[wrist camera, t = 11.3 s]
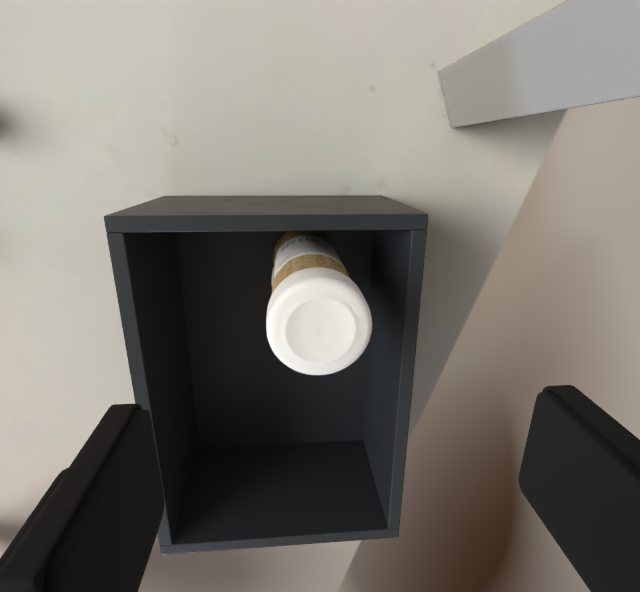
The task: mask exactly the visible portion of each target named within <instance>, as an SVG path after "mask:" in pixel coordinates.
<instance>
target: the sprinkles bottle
mask: <svg viewBox="0 0 640 592" xmlns="http://www.w3.org/2000/svg"><path fill="white" fill-rule="evenodd" d="M273 263H274V267H273V271H272V295H271V298H270V300H269V303H268V307H267V317H266V331H267V338H268V341H269V344H270V346H271V348H272V350H273V352H274V354H275V355H276V356H277V357H278V358H279V360H280V361H281V362H283V363H284V364H285V365H286V366H288V367H289V368H291V369H293V370H295V371H297V372H300V373H303V374H308V375H327V374H331V373H335V372H338V371H340V370H342V369H344V368H346V367H348V366H349V365H351V364H352V363H353V362H354V361H356V360H357V359H358V358H359V357H360V355H361V354H362V353H363V352H364V350H365V348H366V347H367V344H368V342H369V340H370V336H371V332H372V317H371V312H370V309H369V306H368V304H367V302H366V300H365V298H364V296H363V294H362V293H361V291H360V289H359V288H358V286H357V285H356V284H355V283H354V282H353V281H352V280H351V279H350V277H349V275H348V273H347V271H346V269H345V267H344V266H343V264H342V262H341V260H340V258H339V256H338V255H337V253H336V251H335V250H334V247H333V245H332V243H331V241H330V239H329V238H328V237H327V236H326V235H325V234H324V233H323V232H321V231H288V232H286V233H285V234H283V236H282V237H281V238H280V239H279V240H278V241H277V244H276V246H275V248H274V252H273Z"/></svg>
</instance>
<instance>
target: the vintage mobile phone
mask: <svg viewBox="0 0 640 592" xmlns="http://www.w3.org/2000/svg"><path fill="white" fill-rule="evenodd" d="M438 74H439V78H440V83H441V87H442V91H443V95H444V100H445V104H446V108H447V113H448V117H449V121H450V125H451V128H455V127H461V126H467V125H473V124H479V123H485V122H491V121H497V120H503V119H509V118H515V117H521V116H527V115H533V114H539V113H545V112H551V111H557V110H563V109H569V108H574V107H580V106H587V105H592V104H598V103H604V102H610V101H616V100H622V99H628V98H634V97H640V0H567V1H565V2H563V3H561V4H559V5H558V6H556V7H554V8H552V9H550V10H549V11H547V12H545V13H543V14H541V15H540V16H538V17H536V18H534V19H532V20H530V21H529V22H527V23H525V24H523V25H521V26H520V27H518V28H516V29H514V30H512V31H510V32H509V33H507V34H505V35H503V36H501V37H500V38H498V39H496V40H494V41H492V42H490V43H489V44H487V45H485V46H483V47H481V48H480V49H478V50H476V51H474V52H472V53H470V54H469V55H467V56H465V57H463V58H461V59H460V60H458V61H456V62H454V63H452V64H450V65H449V66H447V67H445V68H443V69H441V70H440V71H438Z"/></svg>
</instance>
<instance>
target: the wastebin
mask: <svg viewBox="0 0 640 592" xmlns="http://www.w3.org/2000/svg"><path fill="white" fill-rule="evenodd" d="M104 221H105V227H106V232H108V233H107V239H108V244H109V250H110V256H111V262H112V268H113V274H114V280H115V286H116V291H117V297H118V303H119V309H120V315H121V321H122V327H123V333H124V338H125V344H126V350H127V356H128V362H129V368H130V374H131V380H132V386H133V391H134V397H135V403H136V404H140V405H141V407H142V410H149V412H150V415H151V421H152V427H153V433H154V439H155V445H156V451H157V457H158V463H159V469H160V475H161V481H162V487H163V493H164V512H163V517H162V520H161V523H160V526H159V529H158V538H159V544H160V550H161V555H166V554H179V553H193V552H206V551H220V550H233V549H247V548H260V547H273V546H287V545H300V544H314V543H327V542H340V541H354V540H366V539H381V538H393V537H398V536H399V525H400V515H401V502H402V493H403V481H404V472H405V460H406V450H407V439H408V428H409V418H410V407H411V396H412V385H413V375H414V364H415V353H416V342H417V331H418V321H419V310H420V299H421V288H422V278H423V267H424V256H425V245H426V234H427V230H426V229H427V224H428V214H427V213H424V212H422V211H419V210H417V209H414V208H412V207H409V206H407V205H404V204H402V203H399V202H397V201H394V200H392V199H389V198H386V197H384V196H163V197H160V198H157V199H154V200H151V201H148V202H145V203H142V204H139V205H136V206H133V207H130V208H127V209H124V210H121V211H118V212H115V213H112V214H109V215H106V216H104ZM288 231H321V232H323V233H324V234H325V235H326V236H327V237H328V238H329V239H330V241H331V243H332V245H333V247H334V250H335V251H336V253H337V255H338V256H339V258H340V260H341V262H342V264H343V266H344V267H345V269H346V271H347V273H348V275H349V277H350V279H351V280H352V281H353V282H354V283H355V284H356V285H357V286H358V288H359V289H360V291H361V293H362V294H363V296H364V298H365V300H366V302H367V304H368V306H369V309H370V312H371V317H372V332H371V336H370V340H369V342H368V344H367V347H366V348H365V350H364V352H363V353H362V354H361V355H360V357H359V358H358V359H357V360H356V361H354V362H353V363H352V364H351V365H349V366H348V367H346V368H344V369H342V370H340V371H338V372H335V373H331V374H327V375H308V374H303V373H300V372H297V371H295V370H293V369H291V368H289V367H288V366H286V365H285V364H284V363H283V362H281V361H280V360H279V358H278V357H277V356H276V355H275V354H274V352H273V350H272V348H271V346H270V344H269V341H268V338H267V331H266V317H267V307H268V303H269V300H270V298H271V295H272V271H273V267H274V263H273V252H274V248H275V246H276V244H277V241H278V240H279V239H280V238H281V237H282V236H283V234H285V233H286V232H288Z"/></svg>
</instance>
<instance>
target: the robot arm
mask: <svg viewBox="0 0 640 592" xmlns="http://www.w3.org/2000/svg"><path fill="white" fill-rule="evenodd" d="M519 485H520V488H521V491H522V493H523V494H524V496H525V497H526V499H527V500H528V502H529V503H530V504H531V506H532V507H533V509H534V510H535V512H536V513H537V514H538V516H539V517H540V519H541V520H542V522H543V523H544V524H545V526H546V528H547V529H548V531H549V532H550V533H551V535H552V536H553V538H554V539H555V541H556V542H557V544H558V545H559V546H560V548H561V549H562V551H563V552H564V554H565V555H566V557H567V558H568V559H569V561H570V562H571V564H572V565H573V567H574V568H575V569H576V571H577V572H578V574H579V575H580V577H581V578H582V580H583V581H584V582H585V584H586V585H587V587H588V588H589V590H590V591H591V592H640V440H639V439H638V438H637V437H635V436H634V435H633V434H632V433H631V432H629V431H628V430H627V429H626V428H624V427H623V426H622V425H621V424H619V423H618V422H617V421H616V420H615V419H613V418H612V417H611V416H610V415H608V414H607V413H606V412H605V411H604V410H603V409H601V408H600V407H599V406H597V405H596V404H595V403H594V402H593V401H591V400H590V399H589V398H588V397H587V396H585V395H584V394H583V393H582V392H581V391H579V390H578V389H577V388H575V387H574V386H571V385H561V386H547V387H545V388H544V389H543V391H542V392H541V393H539V394H538V395H537V398H536V402H535V407H534V411H533V415H532V420H531V424H530V429H529V433H528V438H527V442H526V447H525V451H524V456H523V460H522V464H521V469H520V473H519ZM163 512H164V493H163V487H162V481H161V475H160V469H159V463H158V457H157V451H156V445H155V439H154V433H153V427H152V421H151V415H150V412H149V410H142V407H141V405H140V404H118V405H112V406H111V407H110V408H109V409H108V410H107V412H106V413H105V415H104V416H103V418H102V419H101V421H100V422H99V424H98V425H97V427H96V428H95V430H94V431H93V433H92V434H91V436H90V437H89V439H88V440H87V442H86V443H85V445H84V446H83V448H82V449H81V450H80V452H79V453H78V455H77V456H76V458H75V459H74V461H73V462H72V464H71V465H70V467H69V468H67V469H65V470H63V471H62V472H61V473H60V474H59V475H58V476H57V477H56V479H55V480H54V482H53V483H52V485H51V486H50V487H49V489H48V490H47V492H46V493H45V495H44V496H43V498H42V499H41V500H40V502H39V503H38V505H37V506H36V508H35V509H34V511H33V512H32V513H31V515H30V516H29V518H28V519H27V521H26V522H25V524H24V525H23V526H22V528H21V529H20V531H19V532H18V534H17V535H16V537H15V538H14V539H13V541H12V542H11V544H10V545H9V547H8V548H7V550H6V551H5V552H4V554H3V555H2V557H1V558H0V592H138V590H139V586H140V583H141V580H142V577H143V574H144V571H145V568H146V565H147V562H148V559H149V556H150V553H151V550H152V547H153V544H154V541H155V538H156V535H157V532H158V529H159V526H160V523H161V520H162V517H163Z"/></svg>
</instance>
